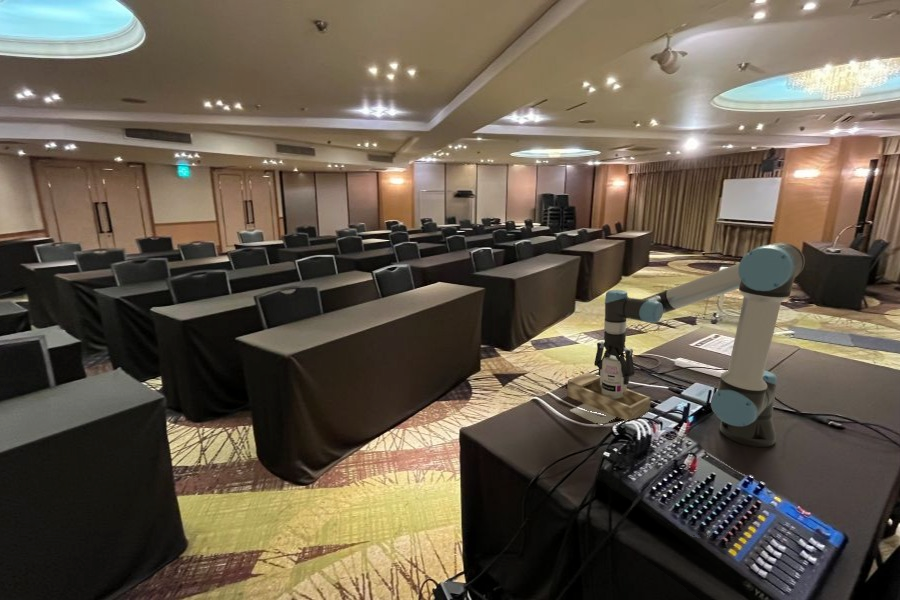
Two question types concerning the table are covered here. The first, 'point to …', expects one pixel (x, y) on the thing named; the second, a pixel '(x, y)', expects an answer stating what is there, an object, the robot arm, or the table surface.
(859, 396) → the table surface
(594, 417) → the mat
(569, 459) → the table surface
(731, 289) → the robot arm
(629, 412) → the crate
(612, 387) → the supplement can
